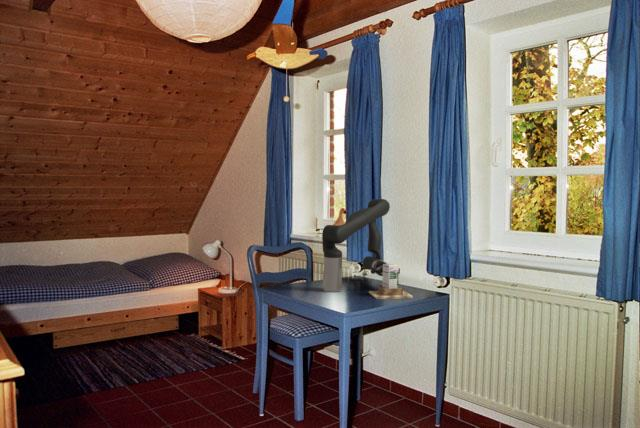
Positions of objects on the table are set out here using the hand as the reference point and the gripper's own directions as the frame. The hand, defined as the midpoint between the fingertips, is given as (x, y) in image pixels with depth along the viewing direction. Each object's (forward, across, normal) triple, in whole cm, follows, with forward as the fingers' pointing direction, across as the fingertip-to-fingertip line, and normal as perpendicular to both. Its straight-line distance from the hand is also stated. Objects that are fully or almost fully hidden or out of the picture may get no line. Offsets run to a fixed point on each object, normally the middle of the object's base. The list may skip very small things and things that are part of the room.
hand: (388, 272), depth 268 cm
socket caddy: (+3, 0, +11) cm, 11 cm away
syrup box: (+3, 0, +10) cm, 10 cm away
